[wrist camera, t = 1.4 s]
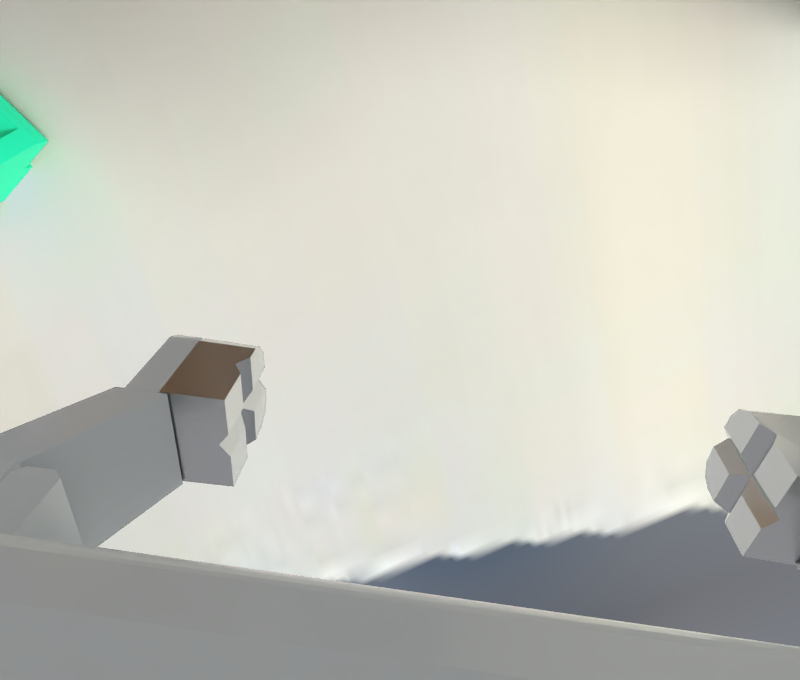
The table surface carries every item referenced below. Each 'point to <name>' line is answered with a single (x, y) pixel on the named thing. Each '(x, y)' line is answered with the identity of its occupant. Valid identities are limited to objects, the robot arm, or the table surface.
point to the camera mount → (16, 147)
